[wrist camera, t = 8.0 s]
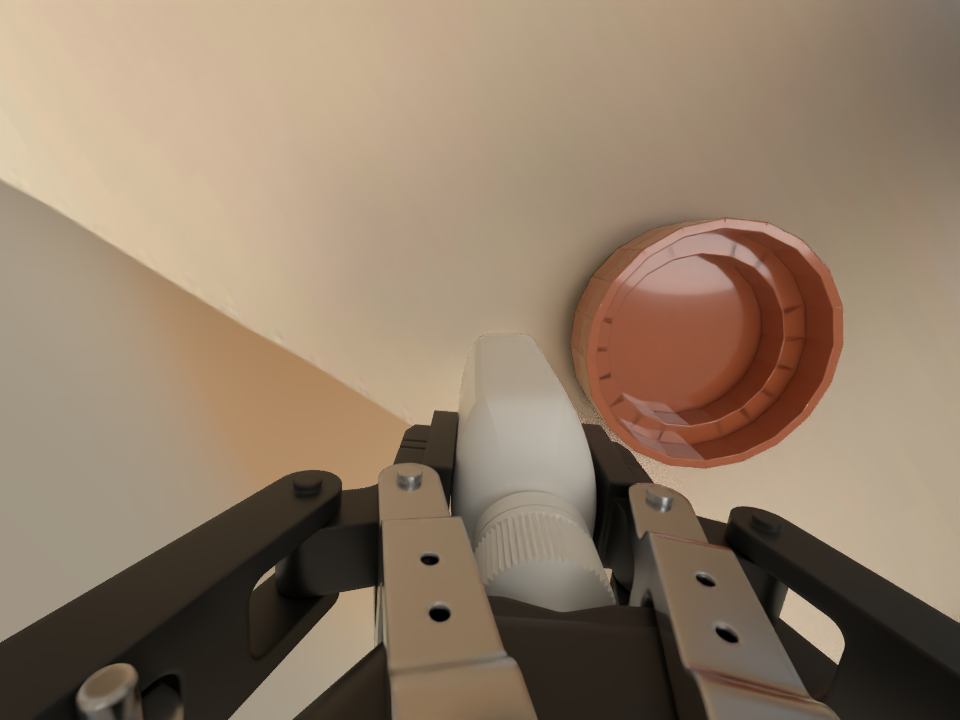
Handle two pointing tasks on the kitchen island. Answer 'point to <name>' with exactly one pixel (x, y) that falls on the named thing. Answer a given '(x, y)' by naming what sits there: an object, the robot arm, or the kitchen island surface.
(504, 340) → the eye dropper bottle
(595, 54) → the kitchen island surface
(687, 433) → the bowl
